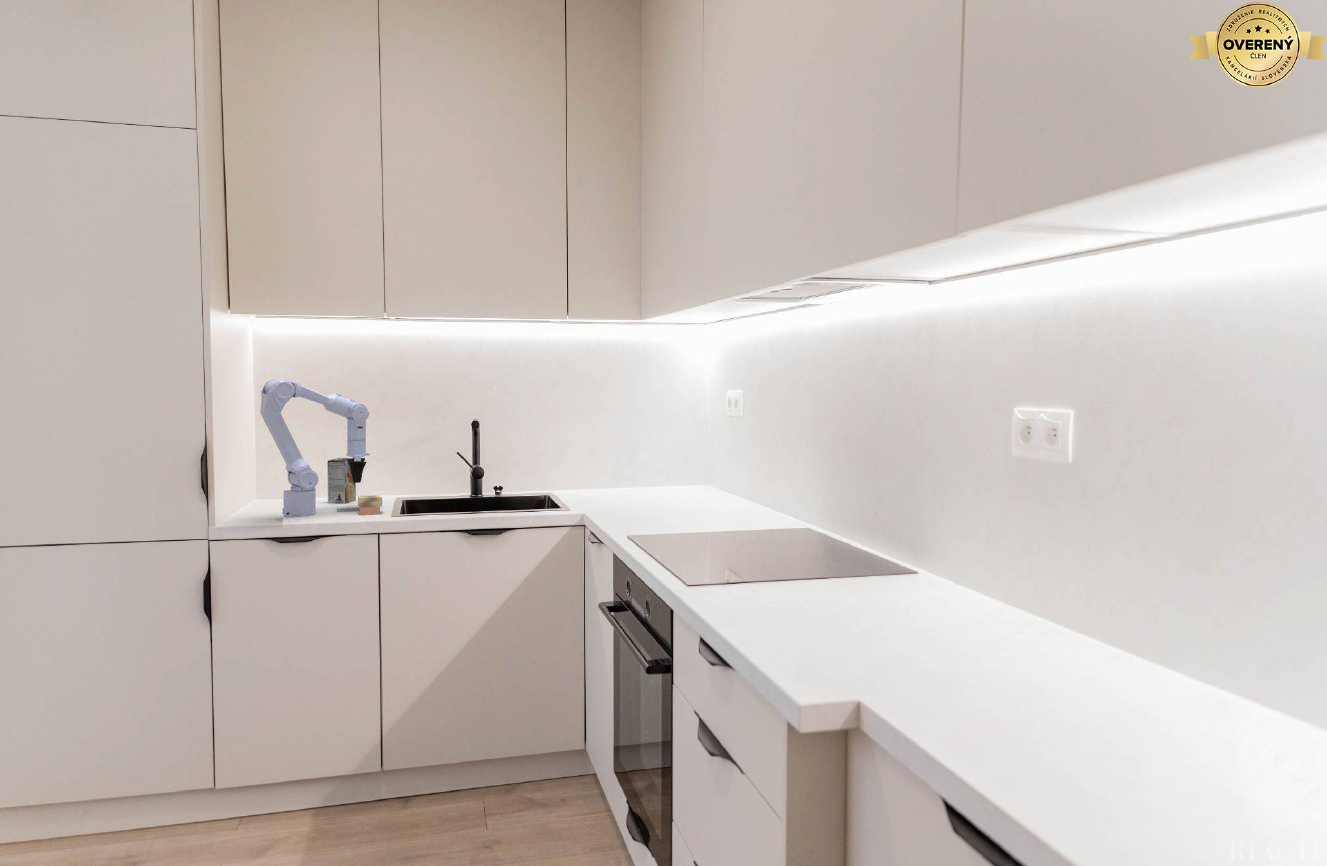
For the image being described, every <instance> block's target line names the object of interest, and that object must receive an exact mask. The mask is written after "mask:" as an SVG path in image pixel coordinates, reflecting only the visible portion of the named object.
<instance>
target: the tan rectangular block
mask: <svg viewBox="0 0 1327 866" xmlns="http://www.w3.org/2000/svg"><path fill="white" fill-rule="evenodd" d="M357 506H358V507H357V508H363V507H380V508H383V496H382V495H381V494H377V495H357Z"/></svg>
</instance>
